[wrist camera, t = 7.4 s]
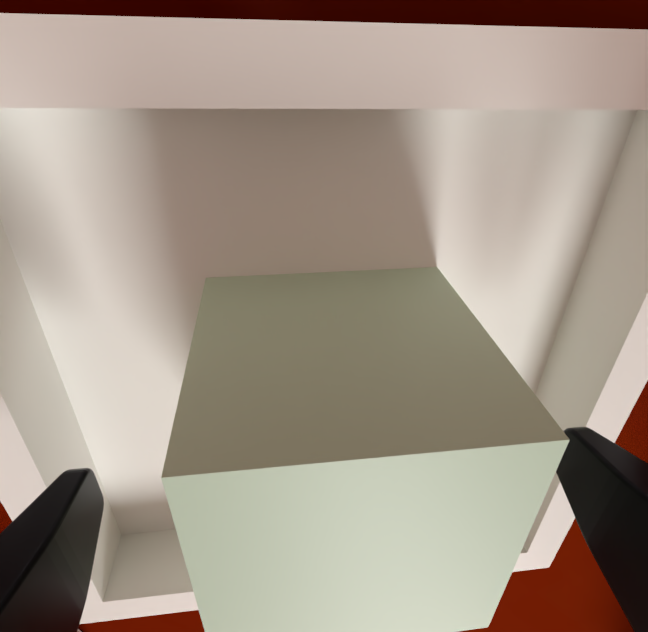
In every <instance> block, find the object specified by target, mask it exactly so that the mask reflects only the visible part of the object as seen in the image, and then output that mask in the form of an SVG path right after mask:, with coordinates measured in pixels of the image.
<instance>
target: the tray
mask: <svg viewBox="0 0 648 632" xmlns="http://www.w3.org/2000/svg"><path fill="white" fill-rule="evenodd" d="M425 267H437V268H438V269H439V270H440V271H441V273H442V274H443V275H444V277H445V278H446V279H447V281H448V282H449V283H450V284H451V286H452V287H453V288H454V290H455V291H456V292H457V294H458V295H459V296H460V298H461V299H462V300H463V301H464V303H465V304H466V305H467V307H468V308H469V309H470V311H471V312H472V313H473V314H474V316H475V317H476V318H477V320H478V321H479V322H480V324H481V325H482V326H483V327H484V329H485V330H486V331H487V333H488V334H489V335H490V337H491V338H492V339H493V340H494V342H495V343H496V344H497V346H498V347H499V348H500V350H501V351H502V352H503V353H504V355H505V356H506V357H507V359H508V360H509V361H510V363H511V364H512V365H513V367H514V368H515V369H516V370H517V372H518V373H519V374H520V376H521V377H522V378H523V380H524V381H525V382H526V383H527V385H528V386H529V387H530V389H531V390H532V391H533V393H534V394H535V395H536V396H537V398H538V399H539V400H540V402H541V403H542V404H543V406H544V407H545V408H546V409H547V411H548V412H549V413H550V415H551V416H552V417H553V419H554V420H555V421H556V422H557V424H558V425H559V426H560V428H561V429H562V430H563V431H564V430H565V429H567V428H572V427H588V428H590V429H592V430H594V431H595V432H597V433H599V434H600V435H602V436H603V437H605V438H607V439H608V440H610V441H612V442H613V443H615V441H616V439H617V437H618V435H619V433H620V432H621V430H622V428H623V426H624V424H625V422H626V420H627V418H628V416H629V414H630V413H631V411H632V409H633V407H634V405H635V403H636V401H637V399H638V397H639V395H640V394H641V392H642V390H643V388H644V386H645V384H646V382H647V380H648V29H608V28H569V27H530V26H490V25H451V24H412V23H373V22H333V21H294V20H255V19H215V18H176V17H137V16H97V15H58V14H19V13H0V501H1V503H2V504H3V506H4V508H5V509H6V511H7V513H8V515H9V516H10V518H11V520H12V521H14V520H15V519H16V518H17V517H18V516H19V515H20V514H21V513H22V512H23V511H24V510H25V509H26V508H27V507H28V506H29V505H30V504H31V503H32V502H33V501H34V500H35V499H36V498H37V497H38V496H39V495H40V494H41V493H42V492H43V491H44V490H45V489H46V488H47V487H48V486H49V485H50V484H51V483H52V482H53V481H54V480H55V479H56V478H57V477H59V476H60V475H61V474H62V473H63V472H64V471H66V470H69V469H78V468H90V469H92V470H93V472H94V474H95V476H96V479H97V482H98V484H99V487H100V489H101V492H102V494H103V498H104V509H103V515H102V520H101V525H100V531H99V536H98V542H97V547H96V552H95V558H94V563H93V568H92V574H91V579H90V584H89V589H88V594H87V598H86V602H85V606H84V610H83V613H82V617H81V620H80V623H79V624H85V623H93V622H102V621H110V620H118V619H126V618H135V617H143V616H151V615H160V614H168V613H176V612H184V611H193V610H199V609H198V606H197V602H196V598H195V595H194V591H193V588H192V584H191V581H190V577H189V574H188V570H187V567H186V563H185V560H184V556H183V553H182V549H181V546H180V542H179V539H178V535H177V532H176V528H175V525H174V521H173V518H172V514H171V511H170V507H169V504H168V500H167V497H166V493H165V490H164V486H163V483H162V479H161V476H162V472H163V467H164V463H165V458H166V454H167V449H168V445H169V440H170V436H171V431H172V427H173V422H174V418H175V413H176V409H177V404H178V400H179V395H180V391H181V386H182V382H183V378H184V373H185V369H186V364H187V360H188V355H189V351H190V346H191V342H192V337H193V333H194V328H195V324H196V319H197V315H198V310H199V306H200V301H201V297H202V292H203V288H204V284H205V279H206V278H210V277H231V276H253V275H274V274H296V273H317V272H339V271H360V270H382V269H403V268H425ZM574 519H575V516H574V513H573V511H572V509H571V506H570V504H569V501H568V499H567V497H566V494H565V492H564V490H563V487H562V485H561V483H560V480H559V478H558V476H557V473H556V472H555V475H554V477H553V479H552V482H551V484H550V486H549V489H548V491H547V493H546V495H545V498H544V500H543V502H542V505H541V507H540V509H539V511H538V514H537V516H536V518H535V521H534V523H533V525H532V528H531V530H530V532H529V534H528V537H527V539H526V541H525V544H524V546H523V548H522V551H521V553H520V555H519V557H518V560H517V562H516V564H515V567H514V569H513V571H512V572H515V571H523V570H532V569H540V568H548V567H550V565H551V563H552V561H553V559H554V557H555V555H556V553H557V551H558V549H559V548H560V546H561V544H562V542H563V540H564V538H565V536H566V534H567V532H568V530H569V529H570V527H571V525H572V523H573V521H574Z"/></svg>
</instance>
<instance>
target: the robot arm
mask: <svg viewBox="0 0 648 632" xmlns="http://www.w3.org/2000/svg"><path fill="white" fill-rule="evenodd" d="M563 432H564V433H565V434H566V436H567V437H568V438H569V439H570V440H569V443H568V445H567V447H566V449H565V452H564V454H563V456H562V459H561V461H560V463H559V466H558V468H557V470H556V473H557V476H558V478H559V480H560V483H561V485H562V487H563V490H564V492H565V494H566V497H567V499H568V501H569V504H570V506H571V509H572V511H573V513H574V516H575V518H576V520H577V523H578V525H579V527H580V530H581V532H582V534H583V536H584V538H585V540H586V542H587V544H588V546H589V548H590V550H591V552H592V554H593V556H594V558H595V560H596V562H597V563H598V565H599V567H600V569H601V571H602V573H603V575H604V576H605V578H606V580H607V582H608V584H609V586H610V588H611V589H612V591H613V593H614V595H615V597H616V599H617V600H618V602H619V604H620V606H621V608H622V610H623V612H624V613H625V615H626V617H627V619H628V621H629V623H630V624H631V626H632V628H633V630H634V632H648V463H646V462H644V461H643V460H641V459H640V458H638V457H636V456H635V455H633V454H631V453H630V452H628V451H626V450H625V449H623V448H621V447H620V446H618V445H617V444H615V443H613V442H612V441H610V440H608V439H607V438H605V437H603V436H602V435H600V434H599V433H597V432H595V431H594V430H592V429H590V428H588V427H572V428H567V429H565V430H564V431H563ZM103 509H104V498H103V494H102V492H101V489H100V487H99V484H98V482H97V479H96V476H95V474H94V472H93V470H92V469H90V468H78V469H69V470H66V471H64V472H63V473H62V474H61V475H60V476H59V477H57V478H56V479H55V480H54V481H53V482H52V483H51V484H50V485H49V486H48V487H47V488H46V489H45V490H44V491H43V492H42V493H41V494H40V495H39V496H38V497H37V498H36V499H35V500H34V501H33V502H32V503H31V504H30V505H29V506H28V507H27V508H26V509H25V510H24V511H23V512H22V513H21V514H20V515H19V516H18V517H17V518H16V519H15V520H14V521H13V522H12V523H11V524H10V525H9V526H8V527H7V528H6V529H4V530H3V531H2V532H1V533H0V632H77V630H78V627H79V623H80V620H81V617H82V613H83V610H84V606H85V602H86V598H87V594H88V589H89V584H90V579H91V574H92V568H93V563H94V558H95V552H96V547H97V542H98V536H99V531H100V525H101V520H102V515H103Z"/></svg>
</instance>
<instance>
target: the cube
mask: <svg viewBox="0 0 648 632" xmlns="http://www.w3.org/2000/svg"><path fill="white" fill-rule="evenodd" d="M569 440H570V439H569V438H568V437H567V436H566V434H565V433H564V432H563V430H562V429H561V428H560V426H559V425H558V424H557V422H556V421H555V420H554V419H553V417H552V416H551V415H550V413H549V412H548V411H547V409H546V408H545V407H544V406H543V404H542V403H541V402H540V400H539V399H538V398H537V396H536V395H535V394H534V393H533V391H532V390H531V389H530V387H529V386H528V385H527V383H526V382H525V381H524V380H523V378H522V377H521V376H520V374H519V373H518V372H517V370H516V369H515V368H514V367H513V365H512V364H511V363H510V361H509V360H508V359H507V357H506V356H505V355H504V353H503V352H502V351H501V350H500V348H499V347H498V346H497V344H496V343H495V342H494V340H493V339H492V338H491V337H490V335H489V334H488V333H487V331H486V330H485V329H484V327H483V326H482V325H481V324H480V322H479V321H478V320H477V318H476V317H475V316H474V314H473V313H472V312H471V311H470V309H469V308H468V307H467V305H466V304H465V303H464V301H463V300H462V299H461V298H460V296H459V295H458V294H457V292H456V291H455V290H454V288H453V287H452V286H451V284H450V283H449V282H448V281H447V279H446V278H445V277H444V275H443V274H442V273H441V271H440V270H439V269H438V268H437V267H425V268H403V269H382V270H360V271H339V272H317V273H296V274H274V275H253V276H231V277H210V278H206V279H205V284H204V288H203V292H202V297H201V301H200V306H199V310H198V315H197V319H196V324H195V328H194V333H193V337H192V342H191V346H190V351H189V355H188V360H187V364H186V369H185V373H184V378H183V382H182V386H181V391H180V395H179V400H178V404H177V409H176V413H175V418H174V422H173V427H172V431H171V436H170V440H169V445H168V449H167V454H166V458H165V463H164V467H163V472H162V476H161V479H162V483H163V486H164V490H165V493H166V497H167V500H168V504H169V507H170V511H171V514H172V518H173V521H174V525H175V528H176V532H177V535H178V539H179V542H180V546H181V549H182V553H183V556H184V560H185V563H186V567H187V570H188V574H189V577H190V581H191V584H192V588H193V591H194V595H195V598H196V602H197V606H198V609H199V613H200V616H201V620H202V623H203V627H204V630H205V632H457V631H464V630H472V629H479V628H486V627H488V626H489V624H490V622H491V619H492V617H493V615H494V613H495V610H496V608H497V606H498V603H499V601H500V599H501V596H502V594H503V592H504V590H505V587H506V585H507V583H508V580H509V578H510V576H511V574H512V571H513V569H514V567H515V564H516V562H517V560H518V557H519V555H520V553H521V551H522V548H523V546H524V544H525V541H526V539H527V537H528V534H529V532H530V530H531V528H532V525H533V523H534V521H535V518H536V516H537V514H538V511H539V509H540V507H541V505H542V502H543V500H544V498H545V495H546V493H547V491H548V489H549V486H550V484H551V482H552V479H553V477H554V475H555V472H556V470H557V468H558V466H559V463H560V461H561V459H562V456H563V454H564V452H565V449H566V447H567V445H568V443H569Z"/></svg>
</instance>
